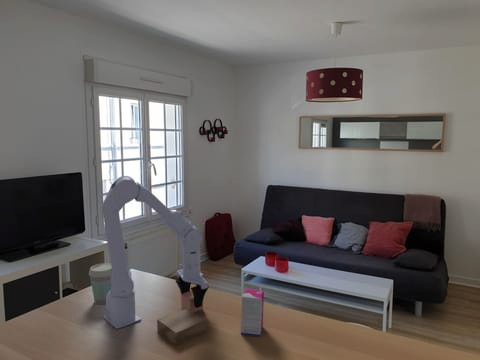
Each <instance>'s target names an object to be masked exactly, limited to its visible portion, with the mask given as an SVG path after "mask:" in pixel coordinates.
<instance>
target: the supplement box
mask: <svg viewBox="0 0 480 360" xmlns="http://www.w3.org/2000/svg"><path fill="white" fill-rule="evenodd" d="M264 299H265V291H264V290H262V289H261V290H259V289H252V288H251V289H250V288H246V289H245V290H244V292H243V294H242V296H241V316H240V317H241V319H240V320H241V321H240V335H241V336H252V337H261V333H262V330H263V328H264V303H265V302H264Z"/></svg>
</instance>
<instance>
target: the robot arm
mask: <svg viewBox="0 0 480 360" xmlns="http://www.w3.org/2000/svg"><path fill="white" fill-rule="evenodd" d="M133 200H135V202H137V203H138V202H139V203H145V204H146V205H148V206H149V207H150V209H152V210H153V211H154V212H155V213H157V214H158V215H160V217H162V219H163V221H162V222H163V225H164V226H165V227H167V228H168V229H169V230H170V231H171V232H172V233H174V234H175V236H177V237H180V239H181V240H182V249H181V251H182V252H181V253H182V256H181V258H182V268H180V269H178V270H176V276H177V277H178V278H177V279H175V283H176V285H177V286H178V288H179V292H180V295H181V294H183V293H186V292H189V291H192V293H193V296H194V303H195V307H196V308H198V307H201V306H202V303H203V304H204V297H205V295H206V293H207V292H208V289H209V282H208V281H207V280H206V279H205V278H204V277H203V276H204V274H203V273H202V272H201V248H200V247H201V246H200V245H201V243H202V241H203V236H202V232H201V231H200V230H199V229H198V228H197V227H196V226H195V225H194V223H193V222H192V221H189V220H188V219H187V218H186V217H185V216H183V215H184V213H183V211H181V210H179V211H178V210H177V209H170V208H169V207H167V206H166V205H165V204H164V203H163V202H162V201H161V200H160V199H159V198H158V197H156V195H155V194H153V192H152V191H150V190H149V189H148V188H147V187H145V186H144V185H142V184H141V183H139V182H138V181H135V179H134V178H133V177H131V176H129V175H123V176H120V177H118V178H117V179H115V181H113V182H112V183H111V185H110V188H109V190H108V192H107V194H106V196H105V198H104V200H103V202H102V203H101V210H102V216H103V217H102V218H103V222H104V223H103V224H104V229H105V233H106V234H105V235H106V241H107V247H108V253H109V258H110V259H109V260H110V264H111V266H112V272H111V276H110V279H111V284H112V286H111V290H110V291H109V292H108V293H107V296H106V304H105V305H106V306H105V309H106V315H104V316H103V318H104V320H106V321H107V322H108V323H109V324H110V325H111V326H113V327H114V328H115V329H117V330H118V329H119V330H120V328H123V327H124V328H125V327H126V326H128V325H133V324H135V323H137V322H140V321H142V318H141V317H139V316H138V315H137V314H136V298H135V297H136V295H135V291H136V290H135V288H134V287H135V283H134V280H133V278H132V272H131V270H130V269H129V267H128V263H127V256H126V250H125V244H124V237H123V231H122V225H121V224H122V223H121V218H120V212H121V210H122V209H123V208H124V206H126V204H128V203H130V202H131V201H133ZM192 284H194V285H195V286H192V287H191V285H192Z"/></svg>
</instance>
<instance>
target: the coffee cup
mask: <svg viewBox="0 0 480 360" xmlns="http://www.w3.org/2000/svg"><path fill="white" fill-rule="evenodd" d="M111 272H112V266H111V263H97V264H95V265H92V266H91V267H90V268H89V271H88V276H89V277H90V279H89V280H90V283H91V284H90V285H91V291H92V295H93V299H94V303H95V304H96V305H99V306H100V305H101V306H103V305H106V296H107V293H108V292H109V291H110V290H111V286H112V284H111V279H110V276H111Z"/></svg>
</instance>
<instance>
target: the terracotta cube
mask: <svg viewBox="0 0 480 360" xmlns="http://www.w3.org/2000/svg"><path fill="white" fill-rule="evenodd" d="M180 295H181V296H180V299H181V300H180V301H181V303H180V304H181V305H180V307H181V310H183V309H185V308H186V309H188V310H189V311H191V312H193V313H194V314H195V313H196V312H199V311H201V310H202V311H203V309H204V302H203V303H202V306H201V307H198V308H196V307H195V303H194V296H193V293H192V290H190V291H189V292H186V293H183V294H181V293H180Z"/></svg>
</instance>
